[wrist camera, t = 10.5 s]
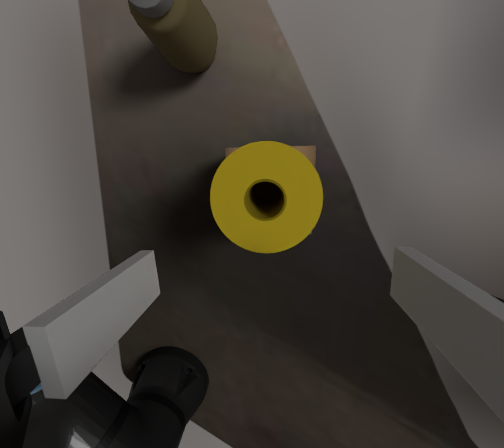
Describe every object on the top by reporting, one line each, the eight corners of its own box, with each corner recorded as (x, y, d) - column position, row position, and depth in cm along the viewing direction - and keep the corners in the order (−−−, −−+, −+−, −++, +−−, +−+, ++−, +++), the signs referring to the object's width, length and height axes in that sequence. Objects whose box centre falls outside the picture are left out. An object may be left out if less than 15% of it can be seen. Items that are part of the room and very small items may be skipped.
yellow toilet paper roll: (293, 134, 28) (301, 121, 19) (318, 211, 30) (336, 233, 21) (218, 165, 30) (192, 166, 21) (246, 236, 32) (234, 265, 23)
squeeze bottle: (197, 93, 36) (123, 30, 19) (159, 50, 35) (45, -58, 18) (235, 50, 34) (191, -64, 17) (196, 3, 33) (107, -169, 16)
